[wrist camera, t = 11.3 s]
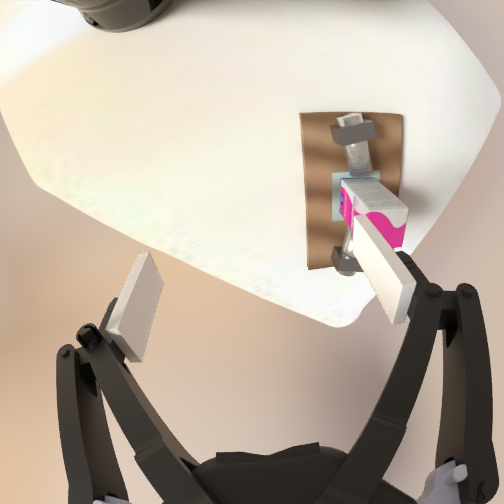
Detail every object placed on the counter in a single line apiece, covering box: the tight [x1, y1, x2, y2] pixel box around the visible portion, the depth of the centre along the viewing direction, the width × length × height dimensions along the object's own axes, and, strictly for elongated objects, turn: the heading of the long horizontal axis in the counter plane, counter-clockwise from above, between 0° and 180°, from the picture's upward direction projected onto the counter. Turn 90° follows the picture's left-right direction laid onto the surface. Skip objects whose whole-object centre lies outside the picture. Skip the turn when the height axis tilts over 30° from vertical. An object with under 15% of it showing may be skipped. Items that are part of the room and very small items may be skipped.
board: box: [299, 112, 402, 270], centre depth 40 cm, size 26×16×1 cm, turn 7°
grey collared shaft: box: [329, 113, 377, 178], centre depth 34 cm, size 9×5×4 cm, turn 19°
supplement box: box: [339, 177, 409, 248], centre depth 35 cm, size 6×6×12 cm
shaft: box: [331, 225, 364, 276], centre depth 43 cm, size 9×5×4 cm, turn 175°
